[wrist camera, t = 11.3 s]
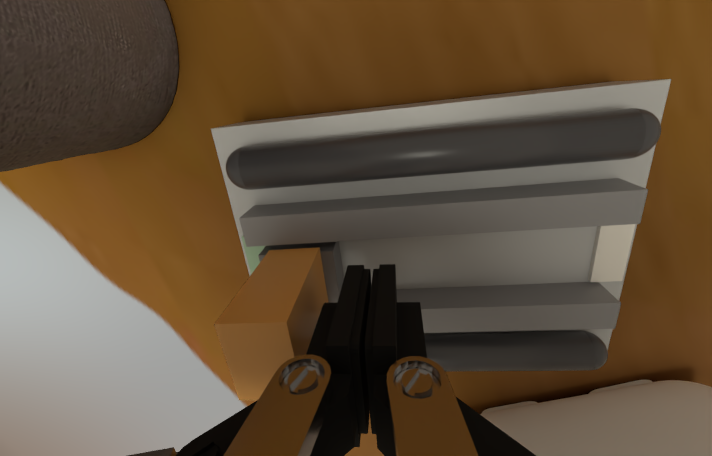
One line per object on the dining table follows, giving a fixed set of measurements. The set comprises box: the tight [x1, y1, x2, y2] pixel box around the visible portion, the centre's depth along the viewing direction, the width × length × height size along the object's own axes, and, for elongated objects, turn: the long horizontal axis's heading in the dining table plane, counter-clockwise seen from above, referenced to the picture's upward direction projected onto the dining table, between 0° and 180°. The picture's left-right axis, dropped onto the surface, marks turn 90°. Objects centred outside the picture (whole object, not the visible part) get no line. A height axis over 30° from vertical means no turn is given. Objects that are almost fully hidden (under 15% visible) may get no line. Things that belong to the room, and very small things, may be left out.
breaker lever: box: [214, 241, 344, 400], centre depth 12 cm, size 3×3×6 cm
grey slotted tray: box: [211, 79, 671, 371], centre depth 15 cm, size 12×16×5 cm
